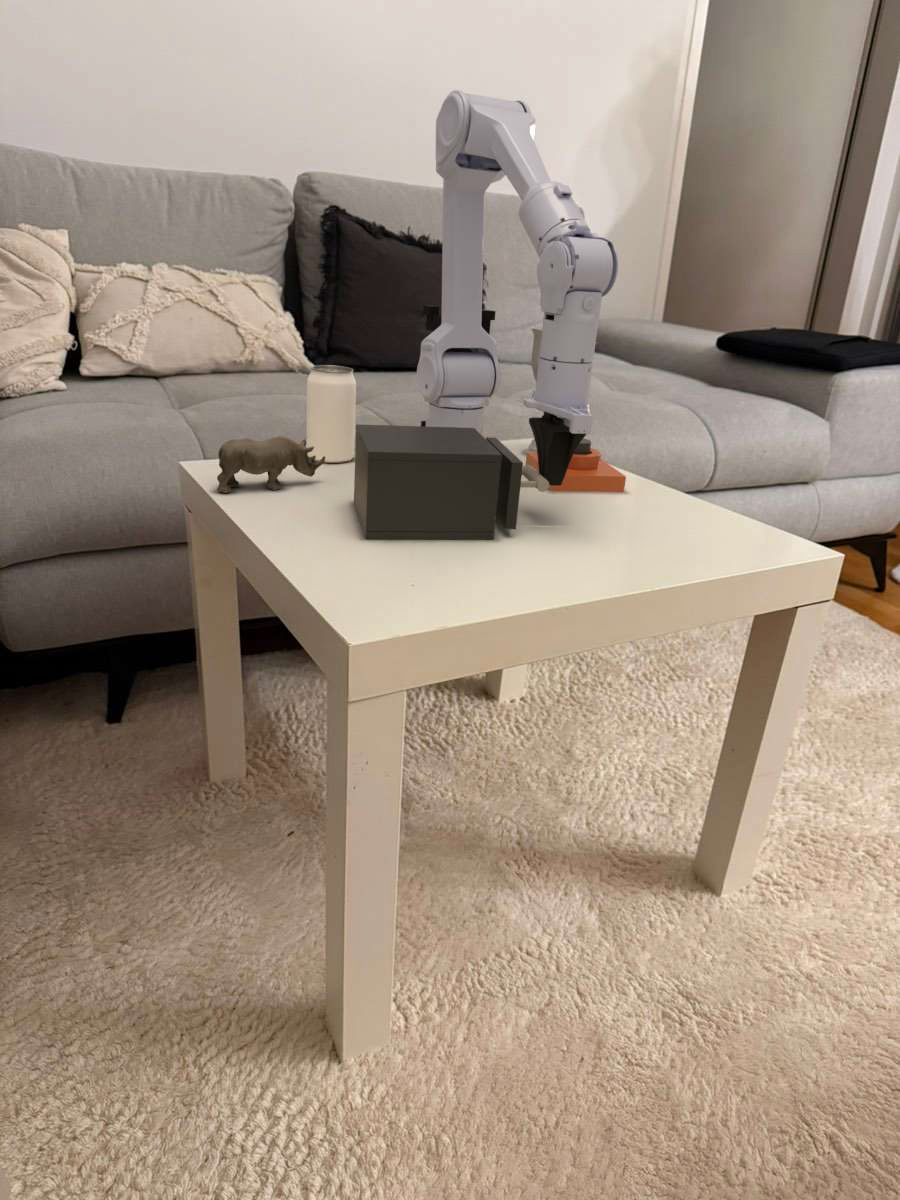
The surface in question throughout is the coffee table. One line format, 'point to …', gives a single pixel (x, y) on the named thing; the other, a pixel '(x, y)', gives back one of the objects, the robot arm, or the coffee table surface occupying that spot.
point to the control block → (586, 474)
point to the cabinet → (425, 482)
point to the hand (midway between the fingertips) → (550, 483)
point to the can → (331, 413)
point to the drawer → (513, 484)
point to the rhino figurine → (263, 460)
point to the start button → (583, 447)
